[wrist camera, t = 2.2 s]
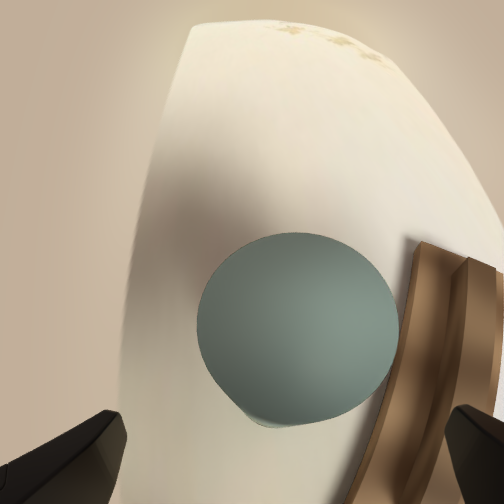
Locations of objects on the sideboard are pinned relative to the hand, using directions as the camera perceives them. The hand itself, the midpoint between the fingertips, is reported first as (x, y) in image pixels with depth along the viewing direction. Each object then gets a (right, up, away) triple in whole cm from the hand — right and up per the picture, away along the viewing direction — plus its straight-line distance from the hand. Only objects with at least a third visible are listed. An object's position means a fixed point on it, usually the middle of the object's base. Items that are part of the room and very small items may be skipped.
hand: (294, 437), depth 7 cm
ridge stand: (+11, -5, +9) cm, 15 cm away
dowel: (0, -4, +10) cm, 11 cm away
